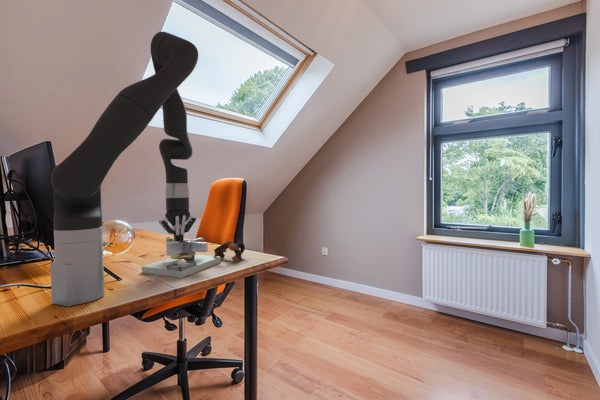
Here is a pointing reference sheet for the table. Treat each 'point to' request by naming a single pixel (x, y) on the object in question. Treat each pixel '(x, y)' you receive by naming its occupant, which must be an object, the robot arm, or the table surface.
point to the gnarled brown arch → (232, 247)
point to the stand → (173, 270)
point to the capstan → (185, 248)
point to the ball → (181, 262)
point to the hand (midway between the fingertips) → (178, 245)
